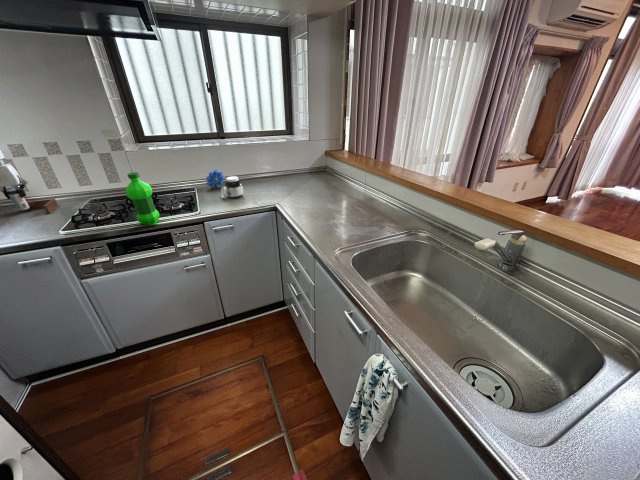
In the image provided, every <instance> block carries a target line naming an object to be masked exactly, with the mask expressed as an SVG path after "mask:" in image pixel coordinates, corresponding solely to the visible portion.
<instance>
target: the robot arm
mask: <svg viewBox="0 0 640 480" xmlns="http://www.w3.org/2000/svg"><path fill="white" fill-rule="evenodd" d="M28 184H29V181H27V180H26V179H24V178H22V177H21V176H20V174H19V173H18V171H17V170H16V168H14V166H13V165H12V164H11V163H9V162H8V160H7V158H6V157H5V155H4V153H3V151H2V150H1V149H0V193H2V194H3V195H4V197H5V198H6V199H7V200H11V198H10V196H9V195H8V193H7V192H6V188H7V187H16V188H17V189H18V193H19V194H20V196H21V197H22V198H25V197H27V193H26V191H25V187H26V186H27V185H28Z"/></svg>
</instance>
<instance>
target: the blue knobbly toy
mask: <svg viewBox="0 0 640 480" xmlns="http://www.w3.org/2000/svg"><path fill="white" fill-rule="evenodd" d="M205 179H206V185H207V186H210V189H215V188H216V189H219V188H220V186H222V185H223V184H224V180H225V175H223V172H222V171H219V170H218V169H214V170H213V171H209V173H208V175H207V176H206V178H205Z"/></svg>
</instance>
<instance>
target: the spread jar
mask: <svg viewBox="0 0 640 480" xmlns="http://www.w3.org/2000/svg"><path fill="white" fill-rule="evenodd" d="M243 195H244V188H243V184H242V182H241V181H240V180H239V177H238V176H236V175H234V176H228V177H226V181H225V182H224V186H222V187H221V189H220V197H221V199H226V198H227V197H228V198H230V199H239V198H241V197H242V196H243Z"/></svg>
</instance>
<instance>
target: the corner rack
mask: <svg viewBox="0 0 640 480" xmlns="http://www.w3.org/2000/svg"><path fill="white" fill-rule="evenodd" d="M26 202H27V203H28V205H29V207H30V208H29V209H27V210H22V211H25V212H26V211H32V210H40V209H41V210H42V209H44V210H45V212H46V213H47V215H49V214H50V215H51V213H53V212H54V211H55V210H56V209H57V208H59V204H58V202H57V200H56V199H55V198H46V199H37V200H29V201H26Z"/></svg>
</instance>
